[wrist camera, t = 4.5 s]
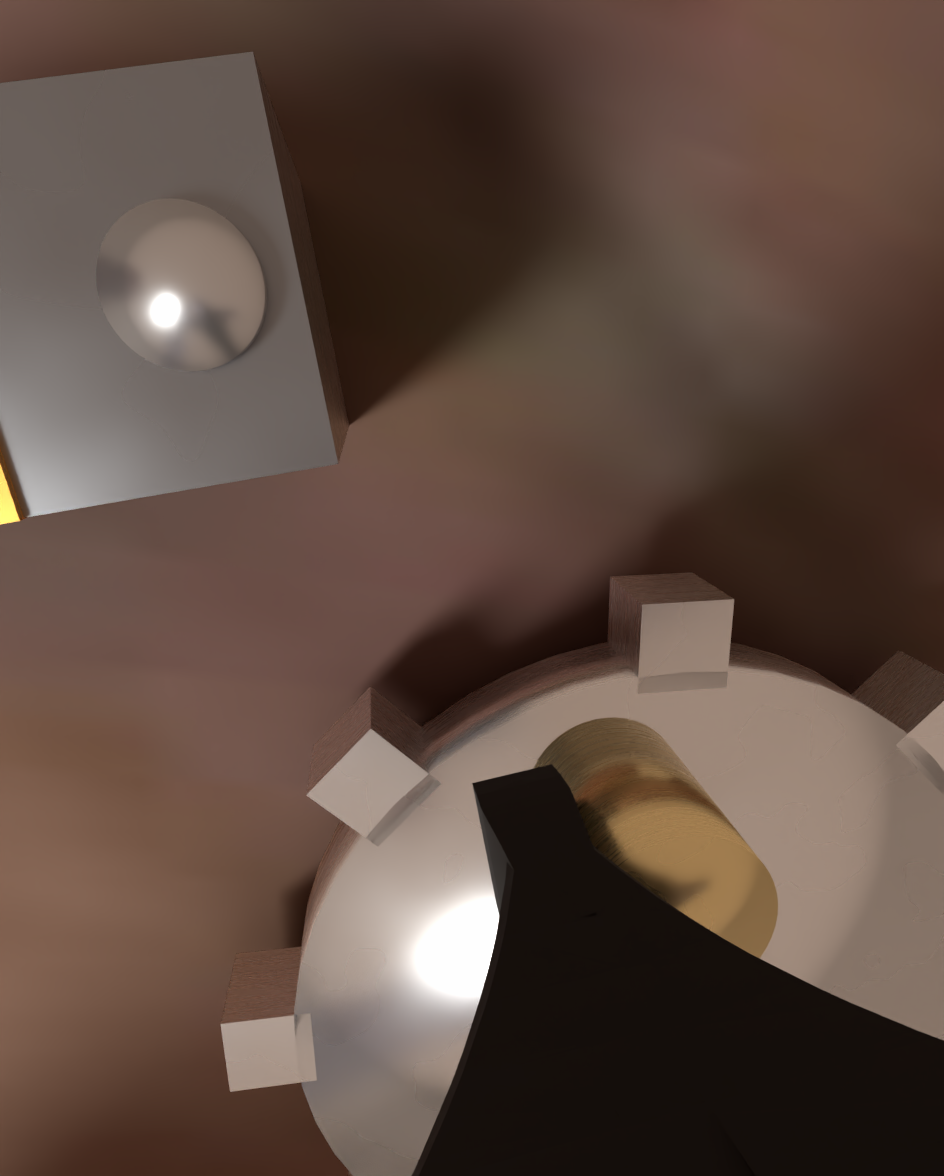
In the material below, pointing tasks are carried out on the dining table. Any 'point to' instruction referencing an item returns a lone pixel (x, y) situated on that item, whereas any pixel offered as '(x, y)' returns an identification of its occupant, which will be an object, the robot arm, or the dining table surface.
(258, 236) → the striped block with rivets
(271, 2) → the dining table surface
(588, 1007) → the robot arm
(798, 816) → the sprocket wheel
